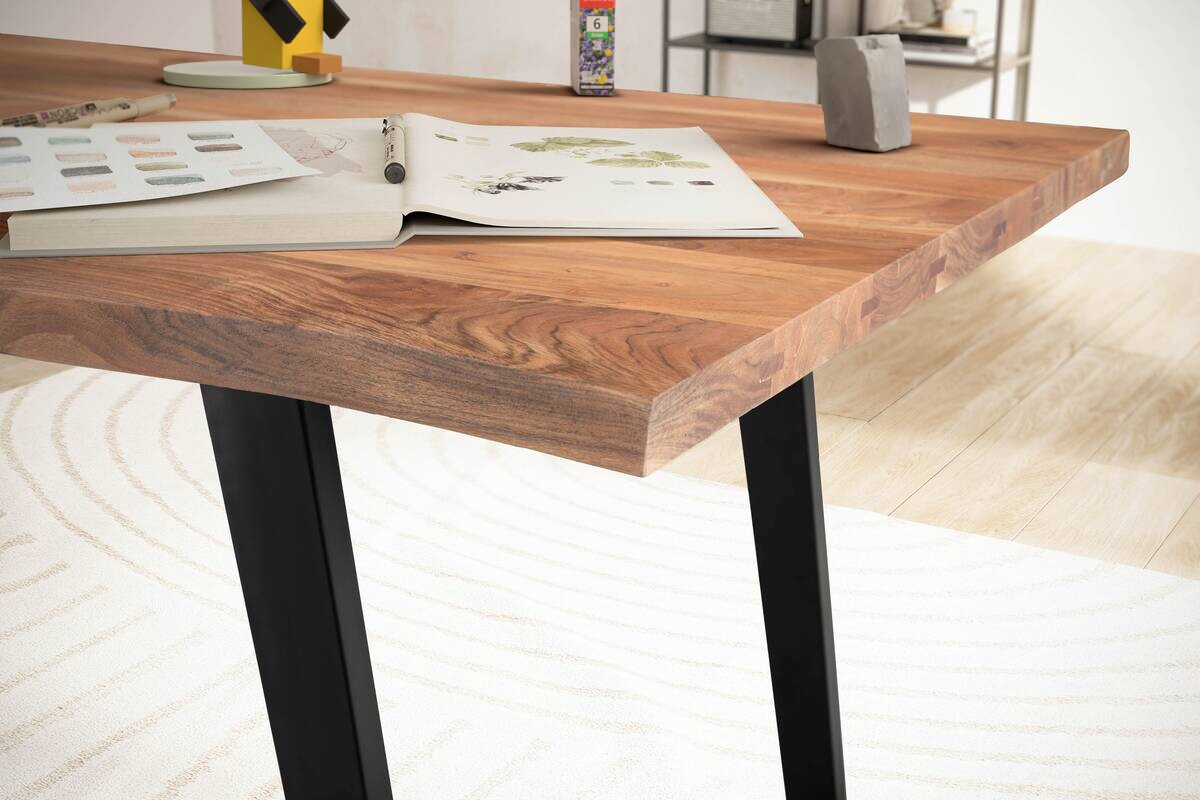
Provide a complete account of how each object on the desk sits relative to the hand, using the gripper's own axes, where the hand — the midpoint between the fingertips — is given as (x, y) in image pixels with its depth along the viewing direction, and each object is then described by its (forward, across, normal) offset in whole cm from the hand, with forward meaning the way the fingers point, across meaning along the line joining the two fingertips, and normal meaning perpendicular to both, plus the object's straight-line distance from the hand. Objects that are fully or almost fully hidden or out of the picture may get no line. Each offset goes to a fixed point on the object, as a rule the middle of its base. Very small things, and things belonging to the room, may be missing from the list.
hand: (318, 31), depth 122 cm
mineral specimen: (+42, +15, +35) cm, 56 cm away
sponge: (-1, 0, -5) cm, 5 cm away
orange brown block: (+2, 0, -3) cm, 4 cm away
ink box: (+21, -8, +14) cm, 27 cm away
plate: (-2, 0, -9) cm, 10 cm away
